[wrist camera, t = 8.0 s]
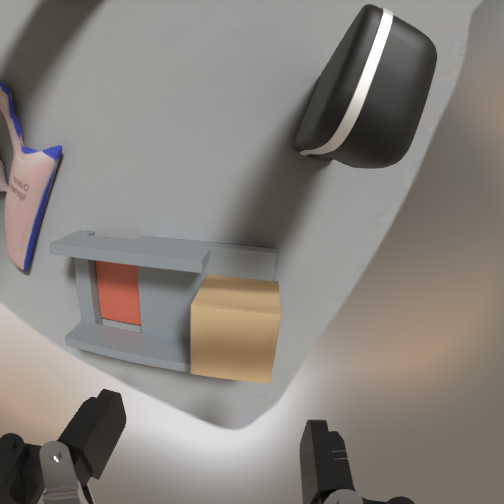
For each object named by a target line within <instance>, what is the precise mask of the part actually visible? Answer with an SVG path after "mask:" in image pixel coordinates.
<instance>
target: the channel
mask: <svg viewBox="0 0 504 504" xmlns="http://www.w3.org/2000/svg"><path fill="white" fill-rule="evenodd" d="M50 249H51V254H54V255H61V256H68V257H74V266H75V275H76V284H77V291H78V298H79V305H80V312H81V318H82V321H81V322H80V323H79V324H78V325H77V326H76V327H75V328H74V329H73V330H72V331H71V332H69V333H68V334H67V335H66V336H65V340H66V345H68V346H71V347H74V348H78V349H82V350H85V351H89V352H93V353H96V354H100V355H104V356H108V357H112V358H117V359H121V360H125V361H130V362H134V363H139V364H144V365H149V366H154V367H159V368H164V369H170V370H176V371H182V372H188V373H191V304H192V302H193V300H194V298H195V296H196V294H197V292H198V290H199V288H200V287H201V285H202V283H203V281H204V279H205V277H206V275H207V274H212V275H221V276H230V277H239V278H248V279H258V280H268V281H274V273H275V264H276V256H277V251H276V249H274V248H264V247H254V246H243V245H233V244H222V243H212V242H201V241H190V240H179V239H169V238H158V237H147V236H143V237H141V238H139V239H138V240H132V239H121V238H111V237H100V236H94V232H91V231H77V232H75V233H73V234H70V235H68V236H66V237H63V238H61V239H59V240H57V241H54V242H52V243H50ZM102 318H106V319H111V320H116V321H121V322H126V323H131V324H137V325H141V328H142V333H139V332H134V331H128V330H123V329H118V328H114V327H109V326H104V325H103V322H102Z"/></svg>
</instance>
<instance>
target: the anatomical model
mask: <svg viewBox="0 0 504 504" xmlns="http://www.w3.org/2000/svg"><path fill="white" fill-rule="evenodd" d="M0 111H1V112H2V114H3V115H4V117H5V120H6V123H7V126H8V129H9V134H10V138H11V142H12V146H13V151H14V156H13V162H12V167H11V171H10V179H9V186H8V184H7V182H6V178H5V171H4V166H3V163H2V161H1V159H0V192H2V191H4V192H7V194H6V198H5V231H6V241H7V250H8V255H9V258H10V260H11V262H12V263H13V264H14V265H15V266H17V267H18V268H20V269H21V270H23V271H27V269H28V267H29V264H30V261H31V257H32V253H33V249H34V245H35V241H36V237H37V234H38V230H39V226H40V222H41V219H42V215H43V212H44V208H45V205H46V202H47V198H48V195H49V192H50V189H51V186H52V182H53V179H54V175H55V172H56V169H57V166H58V162H59V159H60V155H61V152H62V146H60V145H59V146H55V147H51V148H48V149H44V150H33V149H30V148H27V147H26V146H25V145H24V144H23V141H22V127H21V125H20V122H19V121H18V119H17V117H16V115H15V112H14V106H13V100H12V95H11V92H10V90H9V89H8V88H7V87H6V86H5V85H4V84H3V83H2V82H0Z"/></svg>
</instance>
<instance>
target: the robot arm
mask: <svg viewBox="0 0 504 504" xmlns="http://www.w3.org/2000/svg"><path fill="white" fill-rule="evenodd" d="M125 424H126V414H125V410H124V405H123V402H122V397H121V394H120V393H117V392H114V391H110V390H107V389H103V390H102V391H101V392H100V394H99V395H98V397H97V398H95V397H91V398H89V399H88V400H86V401H85V402H83V404H82V405H81V407H80V408H79V410H78V412H76V414H75V415H74V418H72V420H71V421H70V422H69V424H68V425H67V427H66V428H65V430H64V431H63V433H62V434H61V436H60V437H59V439H58V440H57V441H51V442H48V443H45V444H44V445H43V446H38V445H32V444H26V443H24V441H23V439H22V438H21V437H20V436H19V435H17V434H14V433H8V434H5V435H3V436H2V437H1V438H0V504H37V503H38V501H39V499H40V497H41V495H42V493H43V491H44V489H45V488H46V493H44V494H43V501H44V504H95V501H94V498H93V495H92V492H91V489H90V487H89V484H88V481H89V479H90V477H93V478H96V479H98V480H99V478H100V476H101V474H102V472H103V470H104V468H105V466H106V464H107V462H108V460H109V458H110V456H111V454H112V452H113V450H114V448H115V446H116V444H117V442H118V440H119V438H120V436H121V433H122V431H123V430H124V427H125ZM347 458H348V457H347V453H346V449H345V444H344V440H343V439H342V437H341V436H340V435H339V433H338V432H336V431H332V432H329V431H328V426H327V422H326V420H308V421H307V423H306V426H305V430H304V433H303V436H302V439H301V443H300V464H301V479H302V494H303V504H414V502H413V501H411V500H410V499H409V498H406V497H395V498H392V499H390V500H389V501H388V502H379V501H372V500H367V499H365V498H363V497H361V496H360V495H359V494H358V493H357V492H356V491H355V489H354V486H353V481H352V476H351V471H350V467H349V462H348V460H347Z"/></svg>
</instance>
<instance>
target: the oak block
mask: <svg viewBox="0 0 504 504" xmlns="http://www.w3.org/2000/svg"><path fill="white" fill-rule="evenodd" d="M280 319H281V307H280V296H279V285H278V282H277V281H268V280H258V279H248V278H239V277H230V276H221V275H212V274H207V275H206V277H205V279H204V281H203V283H202V285H201V287H200V288H199V290H198V292H197V294H196V296H195V298H194V300H193V302H192V304H191V374H195V375H201V376H208V377H215V378H223V379H231V380H240V381H249V382H260V383H270V380H271V374H272V368H273V363H274V357H275V351H276V345H277V338H278V332H279V326H280Z"/></svg>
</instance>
